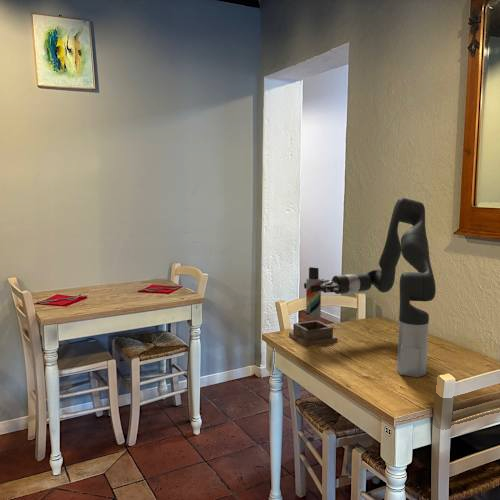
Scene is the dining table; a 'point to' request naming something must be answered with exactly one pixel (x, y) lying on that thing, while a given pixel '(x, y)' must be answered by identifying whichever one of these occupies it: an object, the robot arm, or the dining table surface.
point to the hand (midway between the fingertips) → (307, 287)
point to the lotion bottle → (313, 294)
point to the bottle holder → (312, 333)
